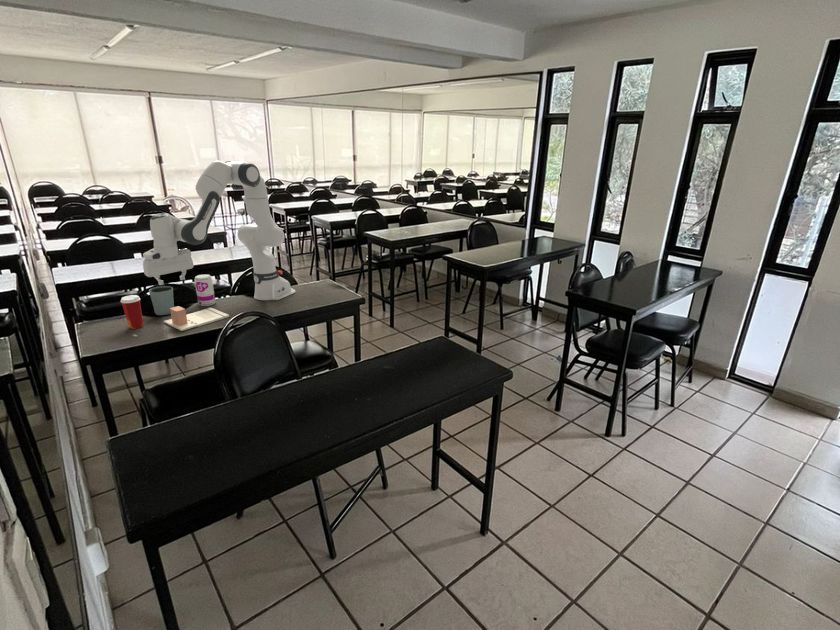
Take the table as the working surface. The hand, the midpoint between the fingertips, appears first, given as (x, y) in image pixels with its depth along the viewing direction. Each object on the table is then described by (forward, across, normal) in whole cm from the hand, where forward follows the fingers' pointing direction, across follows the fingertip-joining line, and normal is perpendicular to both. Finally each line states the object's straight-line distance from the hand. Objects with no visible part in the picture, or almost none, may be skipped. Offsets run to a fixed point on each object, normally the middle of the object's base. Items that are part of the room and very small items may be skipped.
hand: (172, 282), depth 205 cm
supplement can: (+21, -23, -17) cm, 35 cm away
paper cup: (+21, +13, -14) cm, 28 cm away
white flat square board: (+21, -12, 0) cm, 24 cm away
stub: (+21, 0, 0) cm, 21 cm away
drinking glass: (+21, -4, -22) cm, 31 cm away
